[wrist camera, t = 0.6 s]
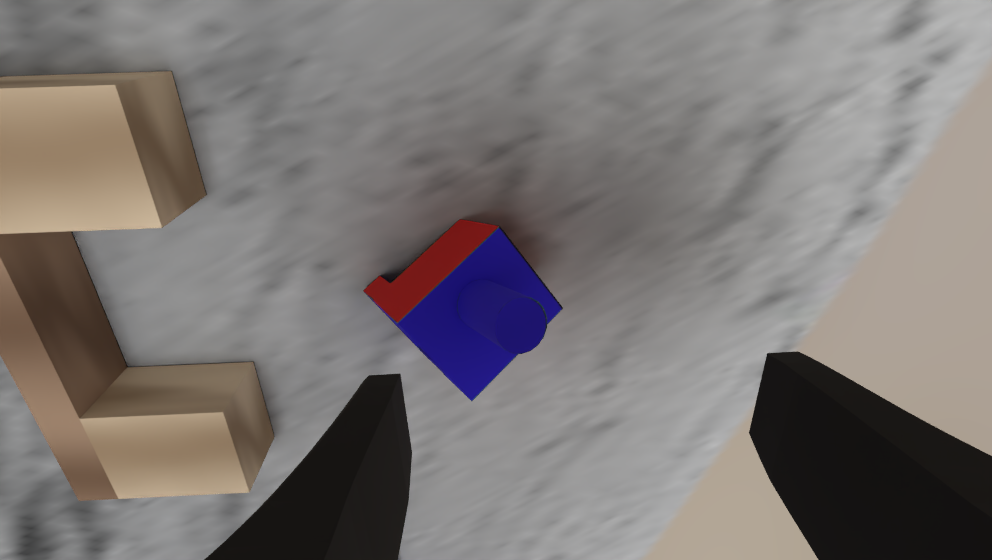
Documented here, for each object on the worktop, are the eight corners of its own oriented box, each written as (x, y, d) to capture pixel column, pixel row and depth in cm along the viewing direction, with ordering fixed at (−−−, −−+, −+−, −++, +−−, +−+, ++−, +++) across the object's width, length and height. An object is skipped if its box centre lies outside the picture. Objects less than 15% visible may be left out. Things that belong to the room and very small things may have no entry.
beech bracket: (274, 437, 24) (249, 492, 21) (123, 443, 24) (78, 500, 21) (171, 71, 17) (115, 84, 14) (-44, 77, 17) (-141, 93, 14)
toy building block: (497, 282, 23) (614, 328, 15) (423, 354, 22) (509, 440, 14) (444, 216, 21) (544, 233, 14) (362, 291, 20) (424, 351, 13)
